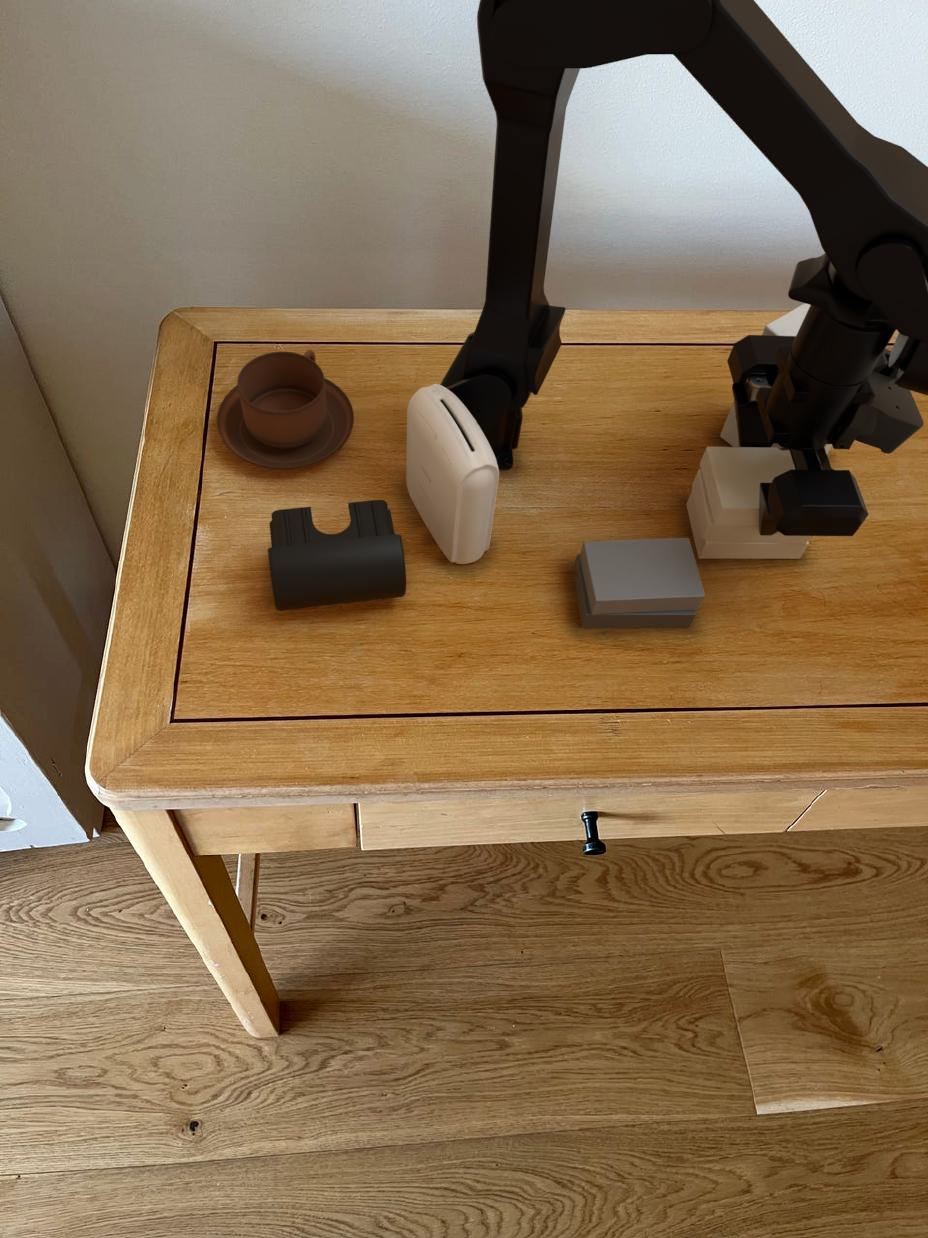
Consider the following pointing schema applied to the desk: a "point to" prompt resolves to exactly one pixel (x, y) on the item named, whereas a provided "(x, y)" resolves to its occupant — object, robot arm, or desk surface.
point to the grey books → (637, 583)
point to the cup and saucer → (284, 413)
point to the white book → (740, 480)
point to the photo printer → (450, 473)
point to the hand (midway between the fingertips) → (756, 501)
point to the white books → (735, 534)
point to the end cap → (335, 558)
